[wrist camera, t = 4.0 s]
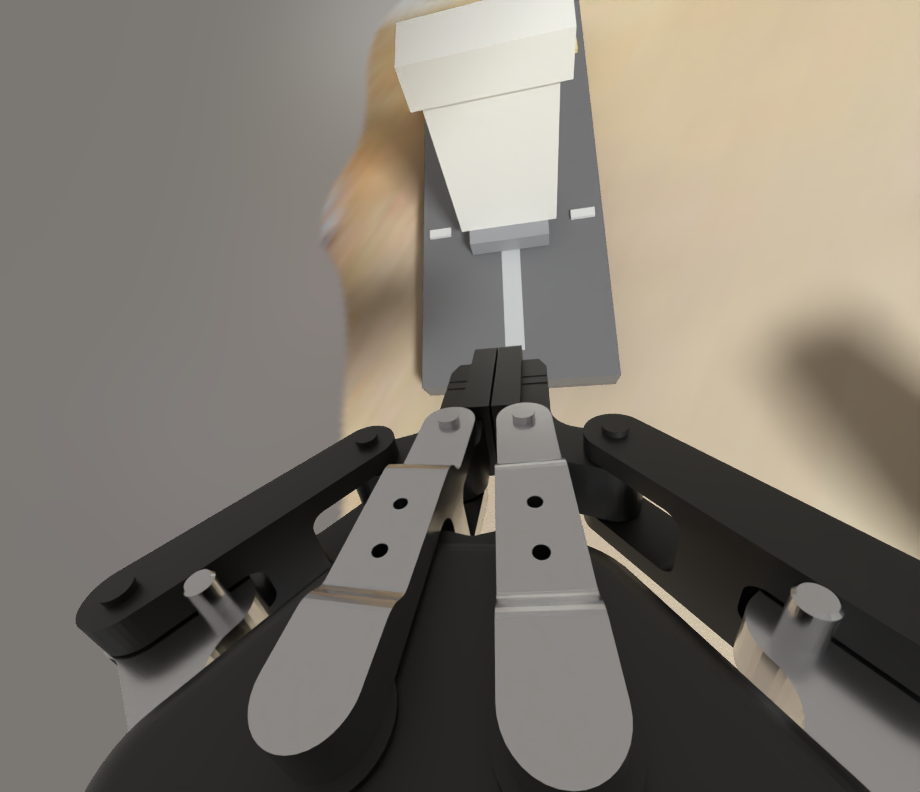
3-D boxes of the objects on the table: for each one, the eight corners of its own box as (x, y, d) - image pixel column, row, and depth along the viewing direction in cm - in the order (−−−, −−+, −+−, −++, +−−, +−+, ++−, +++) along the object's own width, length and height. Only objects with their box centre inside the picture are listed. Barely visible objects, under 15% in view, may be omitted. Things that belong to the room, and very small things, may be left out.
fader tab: (560, 190, 27) (569, -37, 16) (565, 242, 26) (578, 42, 15) (458, 206, 29) (396, 8, 17) (458, 256, 28) (394, 83, 16)
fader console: (576, 24, 33) (578, -10, 31) (615, 383, 26) (621, 373, 23) (432, 57, 35) (424, 28, 33) (430, 395, 28) (420, 386, 26)
